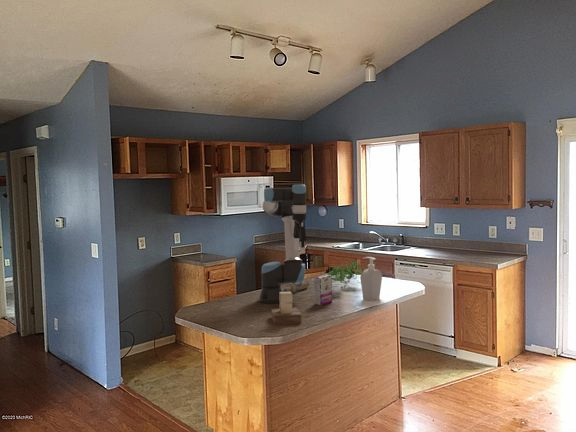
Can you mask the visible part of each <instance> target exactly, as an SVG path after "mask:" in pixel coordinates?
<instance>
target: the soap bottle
mask: <svg viewBox="0 0 576 432" xmlns="http://www.w3.org/2000/svg"><path fill="white" fill-rule="evenodd" d="M365 259H369V264H367V269H364V270H363V271H361V275H360V278H359V279H360V283H361V284H360V286H361V287H360V288H361V292H362V293H361V294H362V300H364V299H368V300H367V301H370V300H374V299H376V300H378V299H377V298H379V299H380V296H381V288H382V281H383V274H382V272H381V271H380V270H379V269H375V267H376V264H374V261H375V260H377V258H376V257H373V256H365V257H362V260H365ZM374 301H375V300H374Z"/></svg>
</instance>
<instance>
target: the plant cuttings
mask: <svg viewBox="0 0 576 432" xmlns="http://www.w3.org/2000/svg"><path fill="white" fill-rule="evenodd" d="M343 265H344V263H340V265H339V266H338V265H337V266H335V267H334V268H332V270H331V271H329V272H327V274H326V275H332V280H333V281H335V282H340V283H341V284H344V285H341V286H340V289H341V290H344V289H345V288H348V289H349V288H350V289H351V287H350V286H349V284H350V282H351V279H353V278H355V279H357V276H359V275H360V276H361V274H362V267H361V263H359V262H358V261H353V262H352V263H351V264H350V261H348V263H347V262H346V263H345V265H344V266H343ZM348 265H349V266H350V267H349V266H348ZM341 267H342V268H341ZM357 269H358V270H357ZM352 270H353V271H354V273H353V272H352ZM333 276H335V277H333ZM345 278H346V279H347V280H345ZM358 283H359V284H360V285H361V281H358ZM353 291H355V290H353V289H352V290H351V292H352V293H354V294H355V292H353Z"/></svg>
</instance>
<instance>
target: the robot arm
mask: <svg viewBox="0 0 576 432" xmlns="http://www.w3.org/2000/svg"><path fill="white" fill-rule="evenodd" d="M263 200H264V201H263V202H262V210H263V212H265V213H266V214H267V215H268V216H272V217H277V218H278V217H280V218H281V221H283V224H284V244H285V245H284V246H285V259H284V261H283V264H282V263H281V262H280V261H271V262H270V261H269V262H267V263H263V264H262V266H261V272H260V273H261V290H260V294H259V296H258V301H259V302H260V303H263V304H279V292H283V289H282V284H289V283H301V282H303V280H304V279H305V276H306V264H305V263H303V259H302V258H300V254H301V255H302V254H306V241H307V236H306V227H305V222H303V221H307V186H306V185H305V184H304V183H303V184H302V183H301V184H293V185H292V187H267V188H264V190H263Z"/></svg>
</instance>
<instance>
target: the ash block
mask: <svg viewBox="0 0 576 432" xmlns="http://www.w3.org/2000/svg"><path fill="white" fill-rule="evenodd" d="M278 304H279V308H278V309H279V311H280V312H281V313H292V308H293V293H291V292H283V291H282V292H279V303H278Z"/></svg>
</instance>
